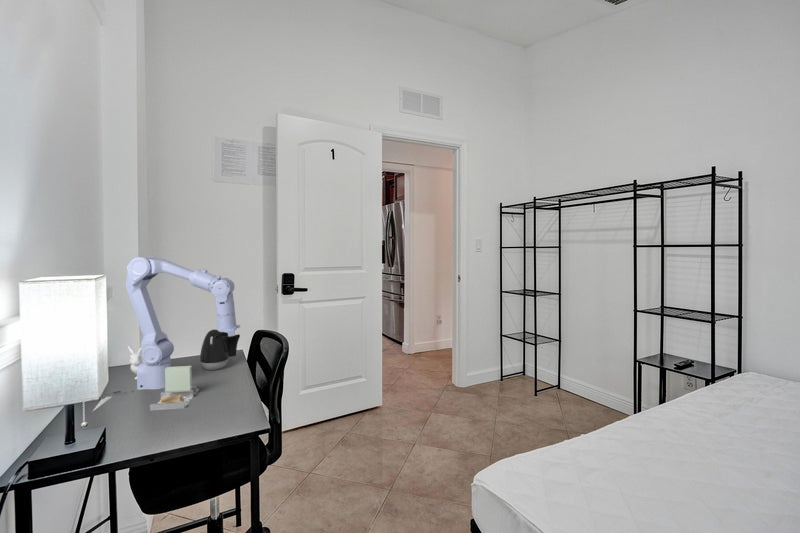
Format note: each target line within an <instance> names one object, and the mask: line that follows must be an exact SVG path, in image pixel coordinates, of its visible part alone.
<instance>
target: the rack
mask: <svg viewBox="0 0 800 533" xmlns="http://www.w3.org/2000/svg"><path fill="white" fill-rule="evenodd" d="M199 390H200V388H197V386H195V385H194V386H193V385H192V390H186V391H170V392H166V391H165V390H164V391H161V392H160V399H159V401H158V402H157V403H151V404H149V411H160V410H161V411H163V410H177V409H185V408H186V407H187V405H188V404H189V403H190V402H191V400H192V399H193V398H194V397H195V395H196V394H197V393H198V392H199ZM167 395H182V398H184V402H175V403H160V404H158V403H159V402H160V401H161V398H162V397H163V396H167Z"/></svg>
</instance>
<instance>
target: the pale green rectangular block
mask: <svg viewBox="0 0 800 533" xmlns="http://www.w3.org/2000/svg"><path fill="white" fill-rule="evenodd" d="M192 368H193V367H192V365H184V366H183V365H181V366H171V367H167V368H166V369H165V388H164V392H165V391H166V392H170V391H186V390H192V387H193V383H192V382H193V378H192V377H193V375H192Z"/></svg>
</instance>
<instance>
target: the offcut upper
mask: <svg viewBox="0 0 800 533" xmlns="http://www.w3.org/2000/svg"><path fill="white" fill-rule="evenodd" d="M181 399H182V395H167V396H163V397H162V398H161V397H160V400H161V403H164V402H179V401H180V400H181Z"/></svg>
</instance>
